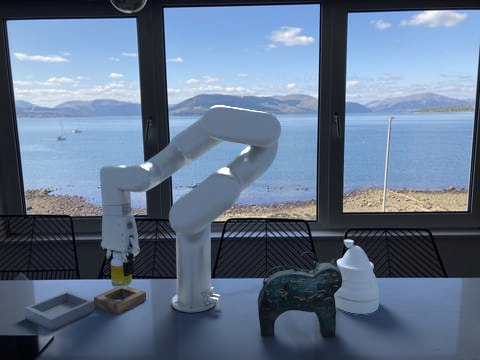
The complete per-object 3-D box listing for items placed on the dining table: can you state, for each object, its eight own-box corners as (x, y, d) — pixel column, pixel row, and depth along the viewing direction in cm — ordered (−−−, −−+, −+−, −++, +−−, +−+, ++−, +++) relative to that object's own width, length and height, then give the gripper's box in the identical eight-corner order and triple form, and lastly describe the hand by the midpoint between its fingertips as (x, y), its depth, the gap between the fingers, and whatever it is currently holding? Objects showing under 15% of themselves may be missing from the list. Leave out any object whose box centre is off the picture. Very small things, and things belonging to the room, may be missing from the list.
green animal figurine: (337, 326, 88) (339, 248, 86) (345, 341, 82) (347, 256, 79) (257, 326, 88) (257, 248, 86) (258, 341, 82) (258, 257, 79)
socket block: (146, 300, 103) (145, 291, 103) (118, 314, 94) (117, 305, 94) (122, 292, 108) (122, 284, 108) (94, 305, 100) (93, 297, 99)
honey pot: (327, 309, 97) (329, 245, 95) (333, 291, 109) (335, 233, 107) (378, 318, 92) (380, 250, 90) (378, 297, 104) (381, 237, 102)
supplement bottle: (125, 289, 98) (124, 255, 96) (108, 287, 99) (106, 253, 97) (135, 281, 103) (133, 248, 102) (118, 279, 104) (116, 247, 103)
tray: (94, 311, 96) (94, 300, 96) (51, 331, 86) (51, 319, 86) (68, 300, 103) (67, 290, 102) (25, 318, 93) (24, 307, 92)
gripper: (149, 209, 97) (153, 273, 99) (108, 205, 106) (112, 263, 108) (127, 215, 91) (132, 283, 93) (85, 209, 100) (90, 272, 102)
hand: (121, 272), depth 100 cm, fingers closed on supplement bottle, 5 cm apart
